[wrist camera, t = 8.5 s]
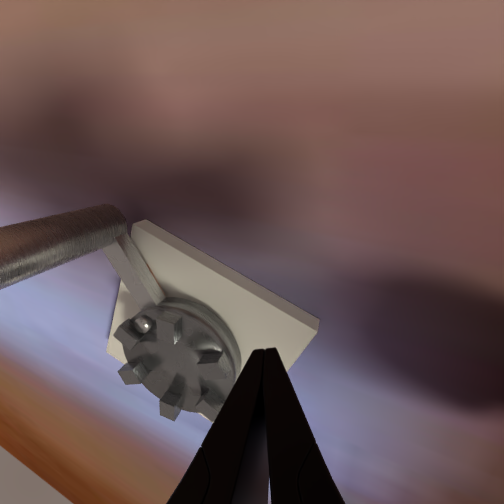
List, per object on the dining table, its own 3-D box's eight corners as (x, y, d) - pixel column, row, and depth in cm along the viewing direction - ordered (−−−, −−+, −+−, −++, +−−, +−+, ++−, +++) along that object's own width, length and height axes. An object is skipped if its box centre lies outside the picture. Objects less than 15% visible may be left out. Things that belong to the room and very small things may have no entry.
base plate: (319, 319, 19) (317, 332, 18) (240, 423, 26) (235, 438, 25) (145, 219, 21) (131, 224, 20) (117, 342, 28) (105, 352, 27)
